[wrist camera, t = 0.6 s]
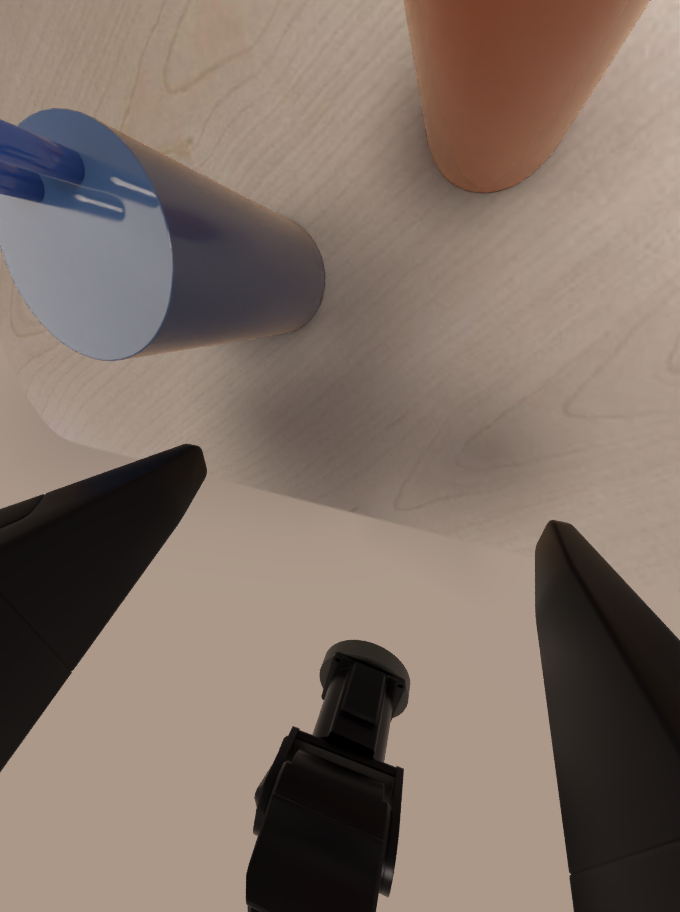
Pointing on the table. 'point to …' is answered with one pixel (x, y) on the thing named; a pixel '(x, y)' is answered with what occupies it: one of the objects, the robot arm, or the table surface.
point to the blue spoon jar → (142, 245)
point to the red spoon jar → (508, 78)
